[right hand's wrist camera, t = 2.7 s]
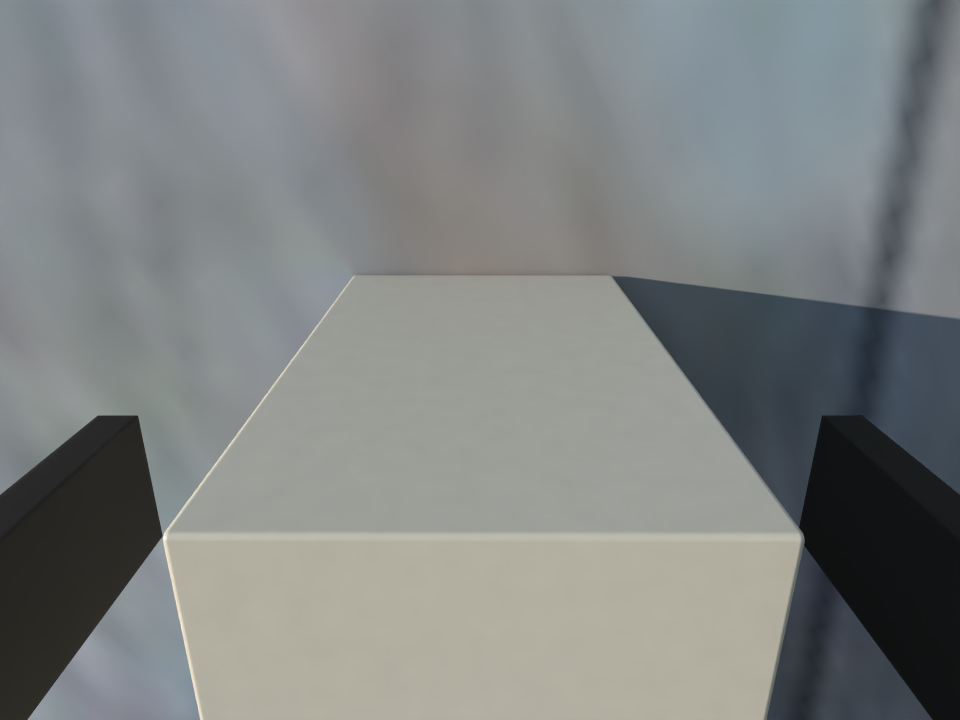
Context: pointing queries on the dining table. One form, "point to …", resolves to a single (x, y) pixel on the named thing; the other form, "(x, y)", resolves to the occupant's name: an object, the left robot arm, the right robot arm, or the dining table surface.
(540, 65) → the dining table surface
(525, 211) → the dining table surface
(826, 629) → the dining table surface
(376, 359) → the bar
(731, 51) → the dining table surface
